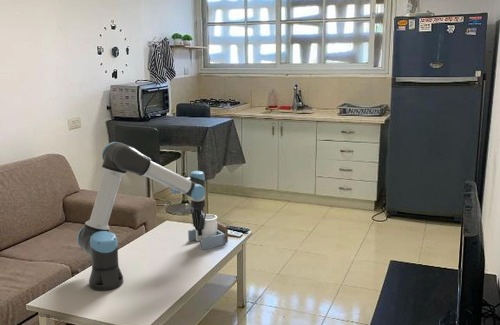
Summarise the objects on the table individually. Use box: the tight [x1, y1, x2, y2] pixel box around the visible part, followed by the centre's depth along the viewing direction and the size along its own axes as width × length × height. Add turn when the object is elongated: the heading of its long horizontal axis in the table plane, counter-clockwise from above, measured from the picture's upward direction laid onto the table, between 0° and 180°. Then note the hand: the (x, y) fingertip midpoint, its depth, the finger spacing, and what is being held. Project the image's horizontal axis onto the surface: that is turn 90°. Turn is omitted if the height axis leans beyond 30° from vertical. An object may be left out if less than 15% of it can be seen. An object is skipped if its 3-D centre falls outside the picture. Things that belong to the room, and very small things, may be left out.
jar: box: [200, 213, 218, 244], centre depth 271 cm, size 11×10×15 cm
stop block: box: [217, 220, 229, 243], centre depth 277 cm, size 2×11×9 cm, turn 35°
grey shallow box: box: [187, 228, 226, 250], centre depth 271 cm, size 14×16×6 cm
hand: (198, 240), depth 269 cm, fingers closed
